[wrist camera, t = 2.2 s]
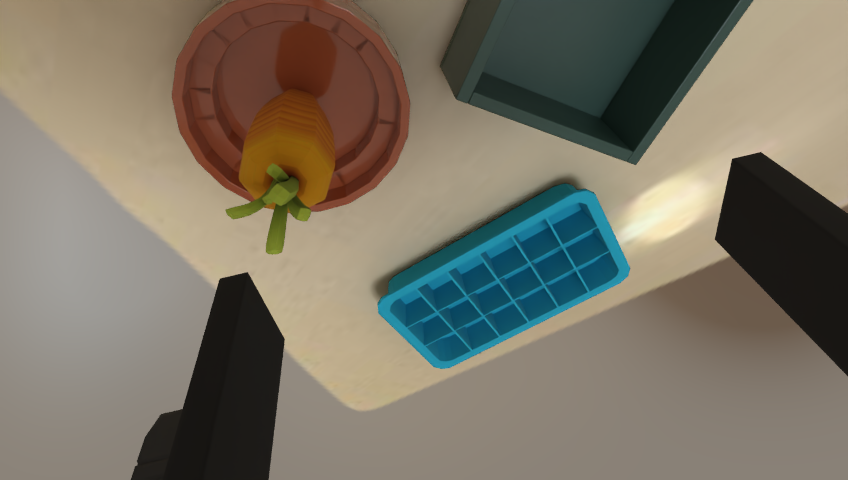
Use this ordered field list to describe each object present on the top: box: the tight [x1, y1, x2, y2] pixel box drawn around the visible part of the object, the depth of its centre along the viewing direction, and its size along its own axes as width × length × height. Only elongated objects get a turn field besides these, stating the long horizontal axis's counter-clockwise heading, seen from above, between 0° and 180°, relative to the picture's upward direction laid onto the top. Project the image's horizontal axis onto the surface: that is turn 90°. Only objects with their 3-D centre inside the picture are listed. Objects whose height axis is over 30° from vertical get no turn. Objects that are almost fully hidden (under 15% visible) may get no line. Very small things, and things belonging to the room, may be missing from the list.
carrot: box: [226, 89, 335, 254], centre depth 28 cm, size 5×5×15 cm
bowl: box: [172, 0, 410, 212], centre depth 33 cm, size 14×14×4 cm
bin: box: [440, 0, 753, 165], centre depth 31 cm, size 14×14×6 cm
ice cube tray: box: [378, 183, 630, 369], centre depth 45 cm, size 12×20×3 cm, turn 122°
